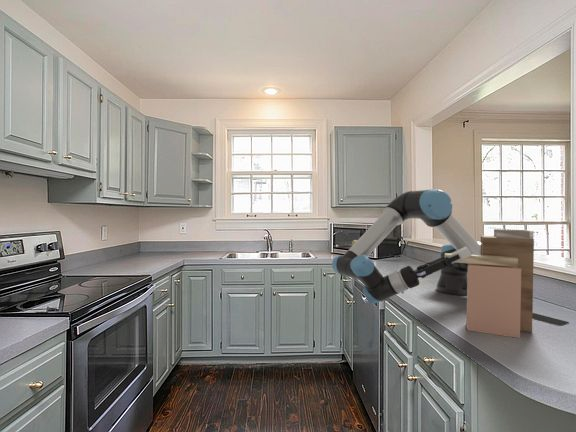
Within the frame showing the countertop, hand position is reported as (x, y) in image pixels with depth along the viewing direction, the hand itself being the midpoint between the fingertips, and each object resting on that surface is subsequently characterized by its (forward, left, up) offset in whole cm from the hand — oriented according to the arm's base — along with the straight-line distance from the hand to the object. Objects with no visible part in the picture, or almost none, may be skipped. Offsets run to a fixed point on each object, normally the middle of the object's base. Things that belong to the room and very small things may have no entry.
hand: (468, 250), depth 107 cm
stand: (-9, +11, -26) cm, 29 cm away
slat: (0, +3, -4) cm, 5 cm away
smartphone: (-23, +24, -26) cm, 43 cm away
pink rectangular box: (0, +7, -25) cm, 26 cm away
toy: (-117, -69, -26) cm, 138 cm away
